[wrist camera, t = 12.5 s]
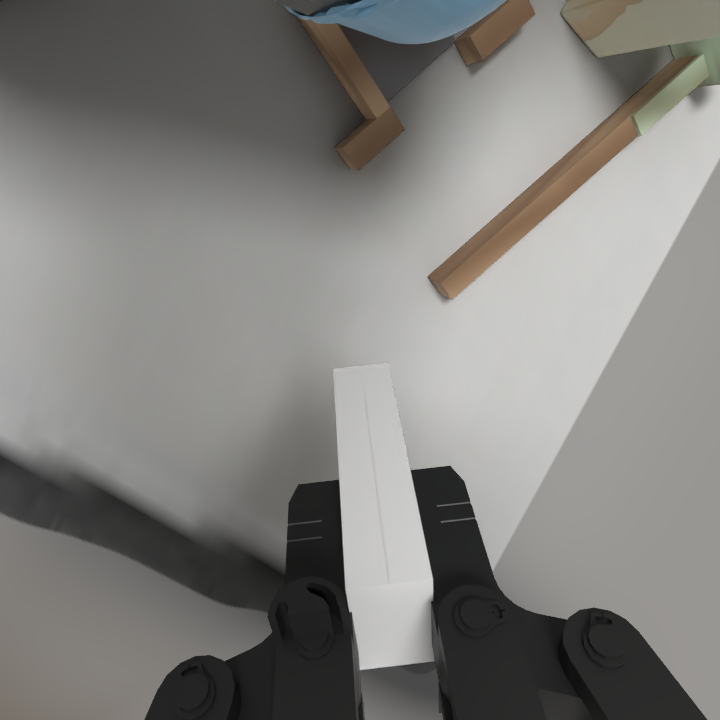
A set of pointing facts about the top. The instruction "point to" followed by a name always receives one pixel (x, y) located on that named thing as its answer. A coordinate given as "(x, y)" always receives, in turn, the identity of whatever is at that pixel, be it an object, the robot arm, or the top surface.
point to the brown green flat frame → (405, 61)
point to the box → (641, 23)
